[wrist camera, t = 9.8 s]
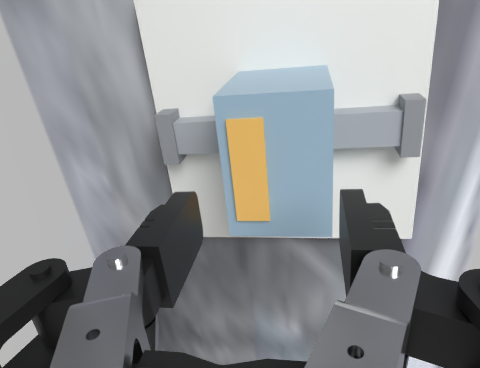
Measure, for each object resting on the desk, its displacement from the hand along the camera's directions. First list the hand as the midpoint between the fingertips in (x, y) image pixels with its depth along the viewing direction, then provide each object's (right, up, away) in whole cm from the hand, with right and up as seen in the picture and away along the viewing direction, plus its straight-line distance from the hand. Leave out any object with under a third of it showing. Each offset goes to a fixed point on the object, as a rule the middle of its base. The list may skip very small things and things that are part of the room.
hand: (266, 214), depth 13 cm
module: (+2, +4, +9) cm, 10 cm away
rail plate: (+2, +5, +10) cm, 11 cm away
